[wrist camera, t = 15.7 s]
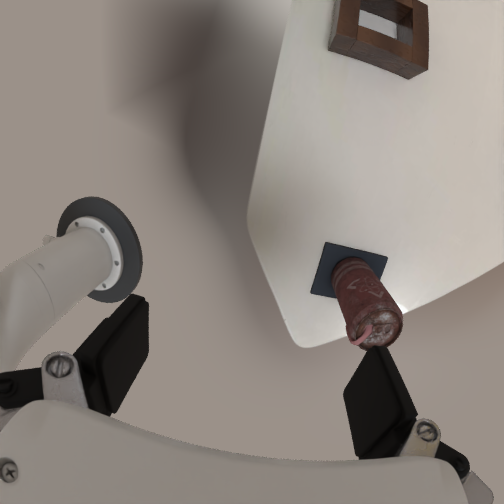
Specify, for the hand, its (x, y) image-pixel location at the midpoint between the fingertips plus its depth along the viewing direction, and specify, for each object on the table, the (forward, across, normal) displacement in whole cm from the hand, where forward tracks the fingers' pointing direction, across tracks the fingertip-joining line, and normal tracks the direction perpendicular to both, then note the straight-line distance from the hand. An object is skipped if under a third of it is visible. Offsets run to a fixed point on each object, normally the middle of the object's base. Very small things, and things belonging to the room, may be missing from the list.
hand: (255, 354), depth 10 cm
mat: (+28, -14, +6) cm, 31 cm away
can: (+27, -14, +6) cm, 31 cm away
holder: (+27, -9, -31) cm, 42 cm away
